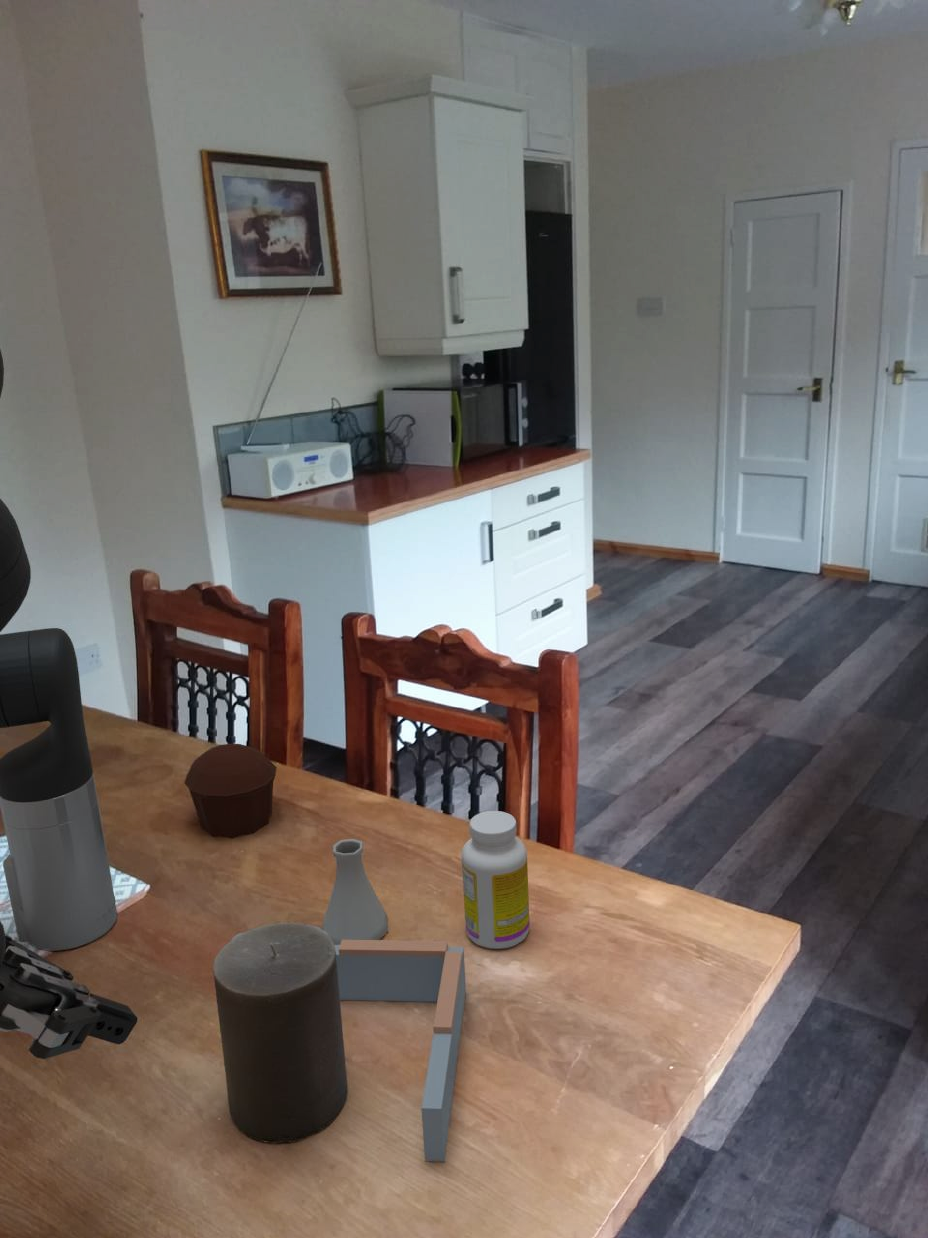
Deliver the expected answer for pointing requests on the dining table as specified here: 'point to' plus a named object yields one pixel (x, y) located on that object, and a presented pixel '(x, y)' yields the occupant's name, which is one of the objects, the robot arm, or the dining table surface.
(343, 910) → the flask
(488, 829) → the supplement bottle
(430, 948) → the corner arena
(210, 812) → the muffin
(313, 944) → the pillar candle
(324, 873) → the dining table surface
